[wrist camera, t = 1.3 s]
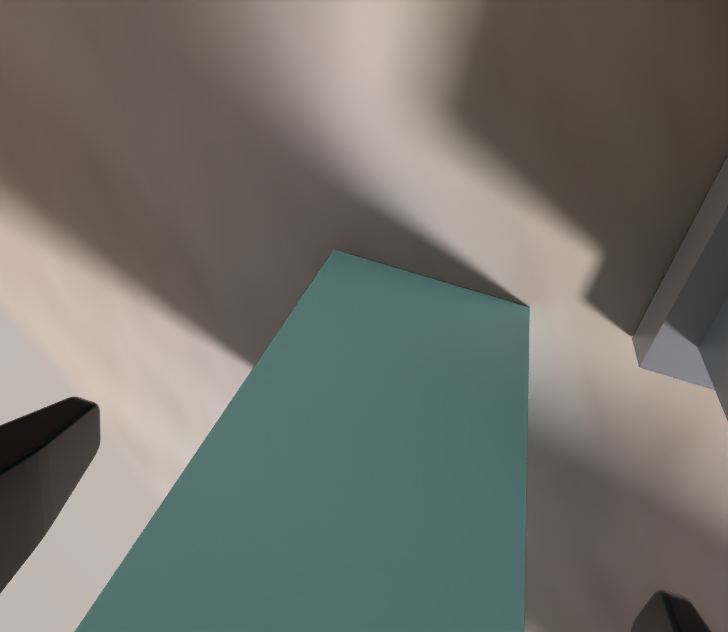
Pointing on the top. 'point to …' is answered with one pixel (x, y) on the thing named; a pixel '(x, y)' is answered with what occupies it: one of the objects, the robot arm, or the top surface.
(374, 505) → the teal peg
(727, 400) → the socket block
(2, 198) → the top surface
